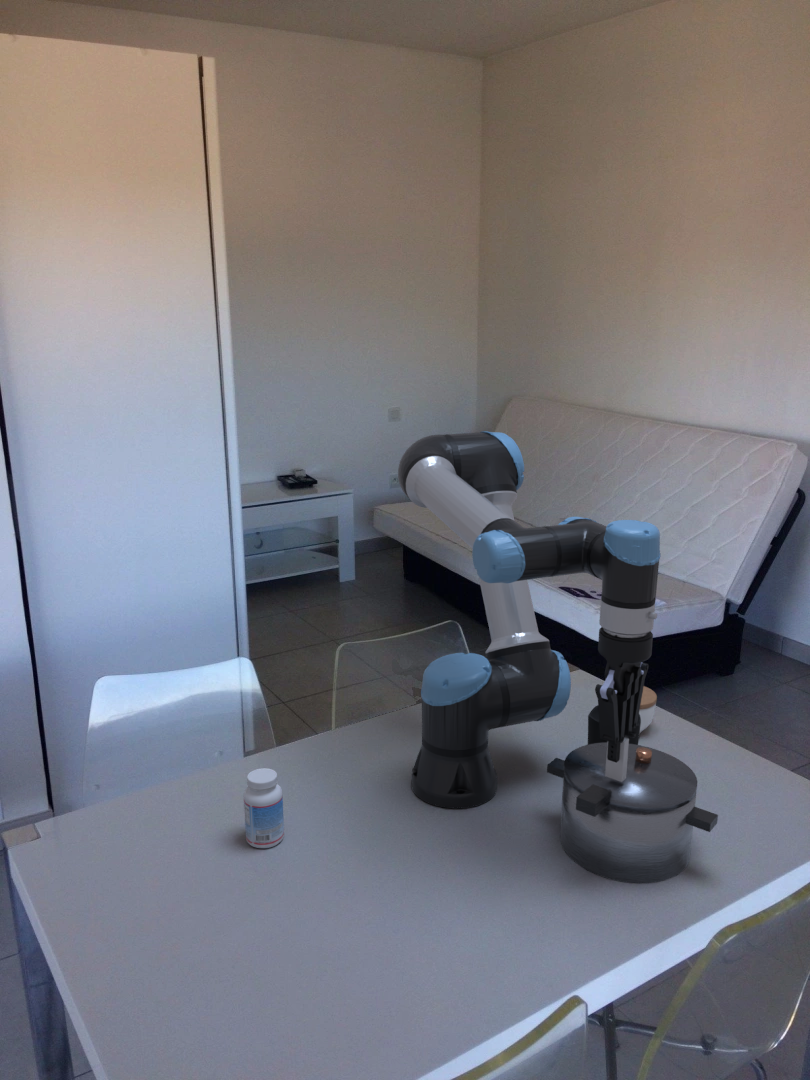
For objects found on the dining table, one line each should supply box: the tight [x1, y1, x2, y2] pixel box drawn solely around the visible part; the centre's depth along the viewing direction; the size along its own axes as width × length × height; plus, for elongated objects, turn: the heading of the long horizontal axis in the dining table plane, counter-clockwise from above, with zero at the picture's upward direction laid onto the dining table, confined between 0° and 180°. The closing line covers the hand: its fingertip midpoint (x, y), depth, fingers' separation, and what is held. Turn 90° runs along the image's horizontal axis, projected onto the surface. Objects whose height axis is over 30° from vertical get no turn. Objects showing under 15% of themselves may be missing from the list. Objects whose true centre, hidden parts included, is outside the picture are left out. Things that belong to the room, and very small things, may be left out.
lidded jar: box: [639, 685, 658, 735], centre depth 176 cm, size 11×11×9 cm
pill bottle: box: [243, 767, 285, 849], centre depth 139 cm, size 6×6×11 cm
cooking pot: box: [546, 757, 719, 884], centre depth 138 cm, size 27×20×11 cm
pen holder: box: [587, 704, 641, 745], centre depth 162 cm, size 9×9×10 cm
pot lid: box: [564, 742, 698, 817], centre depth 134 cm, size 20×24×3 cm
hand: (615, 776), depth 132 cm, fingers closed
